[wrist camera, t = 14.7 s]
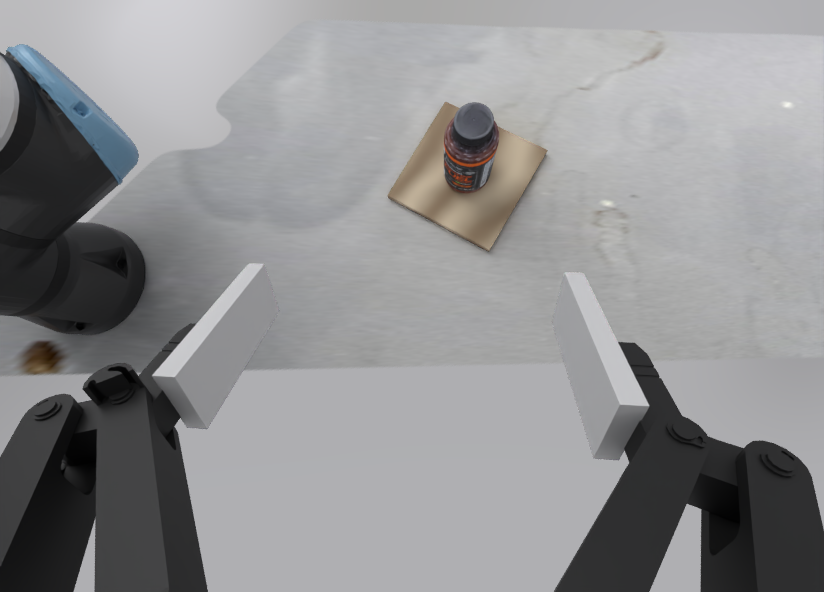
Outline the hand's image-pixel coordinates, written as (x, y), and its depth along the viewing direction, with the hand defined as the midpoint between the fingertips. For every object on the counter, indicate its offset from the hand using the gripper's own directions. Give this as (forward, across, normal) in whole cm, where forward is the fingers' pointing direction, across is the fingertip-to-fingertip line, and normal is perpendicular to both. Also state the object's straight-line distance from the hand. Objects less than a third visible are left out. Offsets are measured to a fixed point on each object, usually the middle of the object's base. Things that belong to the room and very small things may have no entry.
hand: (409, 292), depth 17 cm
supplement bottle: (+35, +4, -6) cm, 36 cm away
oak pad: (+35, +4, -7) cm, 36 cm away
